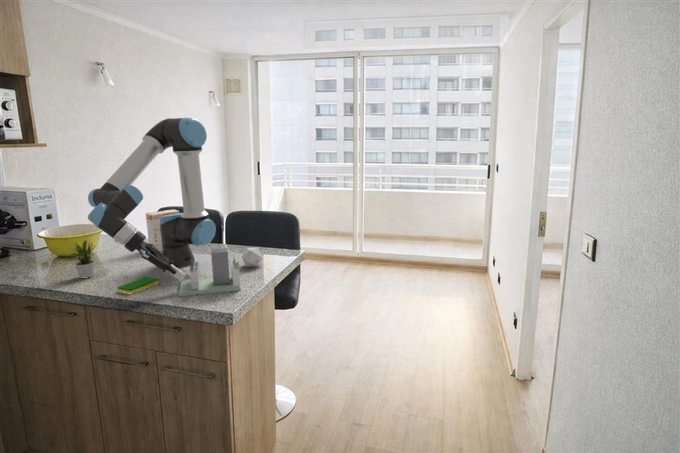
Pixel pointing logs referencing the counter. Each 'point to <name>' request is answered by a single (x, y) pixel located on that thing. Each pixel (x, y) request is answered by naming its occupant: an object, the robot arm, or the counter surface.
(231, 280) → the vise bed
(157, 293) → the counter surface
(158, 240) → the coffeecake box
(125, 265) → the counter surface
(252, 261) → the die
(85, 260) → the house plant
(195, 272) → the sliding jaw
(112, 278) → the counter surface
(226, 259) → the steel block
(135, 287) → the dish sponge
